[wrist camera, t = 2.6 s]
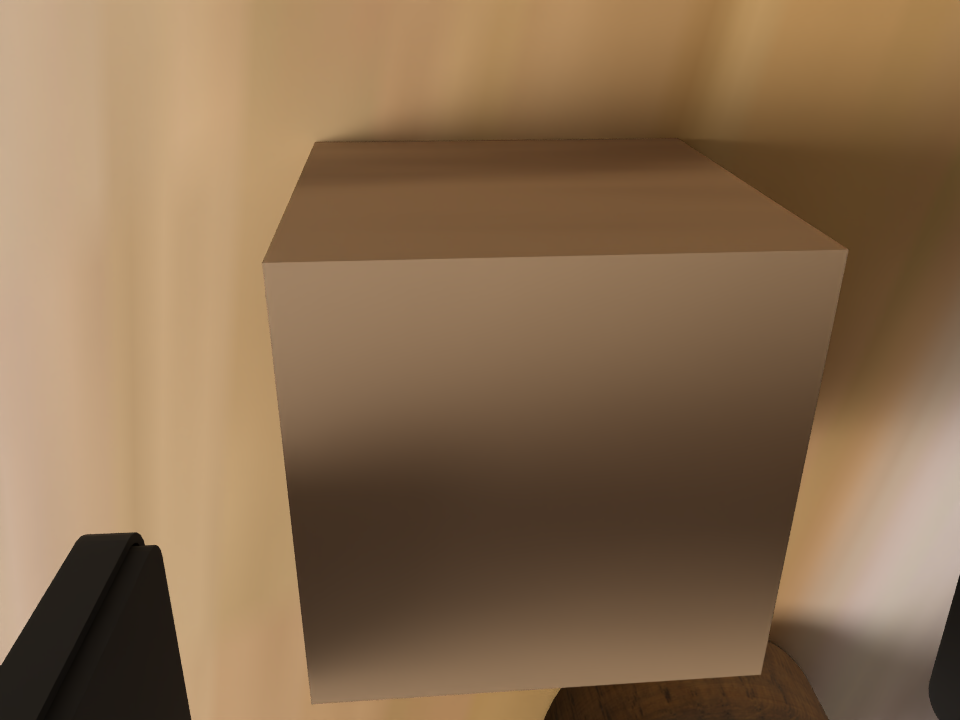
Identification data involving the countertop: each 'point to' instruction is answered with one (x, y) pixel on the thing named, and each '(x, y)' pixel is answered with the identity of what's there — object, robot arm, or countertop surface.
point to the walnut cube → (540, 411)
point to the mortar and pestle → (699, 697)
